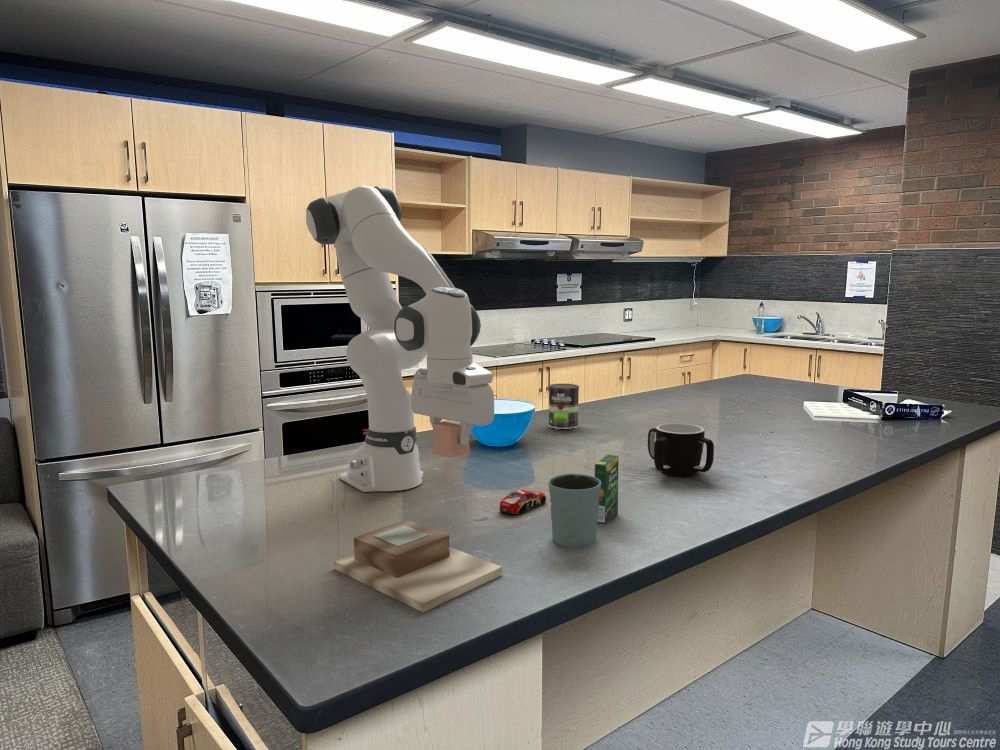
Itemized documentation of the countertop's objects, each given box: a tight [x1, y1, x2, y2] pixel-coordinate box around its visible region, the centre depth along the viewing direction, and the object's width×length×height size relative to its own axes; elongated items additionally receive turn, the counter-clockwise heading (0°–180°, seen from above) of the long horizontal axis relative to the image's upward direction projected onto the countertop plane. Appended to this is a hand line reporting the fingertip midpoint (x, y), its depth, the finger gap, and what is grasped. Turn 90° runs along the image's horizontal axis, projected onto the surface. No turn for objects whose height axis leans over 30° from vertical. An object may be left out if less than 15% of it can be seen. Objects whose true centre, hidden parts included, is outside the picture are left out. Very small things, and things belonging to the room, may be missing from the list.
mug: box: [647, 422, 715, 478], centre depth 179 cm, size 16×16×12 cm
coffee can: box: [548, 383, 580, 430], centre depth 233 cm, size 10×10×14 cm
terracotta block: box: [432, 420, 470, 459], centre depth 135 cm, size 5×5×6 cm
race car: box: [499, 489, 547, 515], centre depth 154 cm, size 13×5×4 cm, turn 140°
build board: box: [333, 519, 503, 614], centre depth 121 cm, size 24×18×6 cm
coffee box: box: [594, 454, 620, 526], centre depth 145 cm, size 8×3×13 cm, turn 151°
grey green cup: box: [548, 473, 601, 549], centre depth 134 cm, size 10×10×12 cm
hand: (451, 441), depth 135 cm, fingers closed on terracotta block, 5 cm apart
